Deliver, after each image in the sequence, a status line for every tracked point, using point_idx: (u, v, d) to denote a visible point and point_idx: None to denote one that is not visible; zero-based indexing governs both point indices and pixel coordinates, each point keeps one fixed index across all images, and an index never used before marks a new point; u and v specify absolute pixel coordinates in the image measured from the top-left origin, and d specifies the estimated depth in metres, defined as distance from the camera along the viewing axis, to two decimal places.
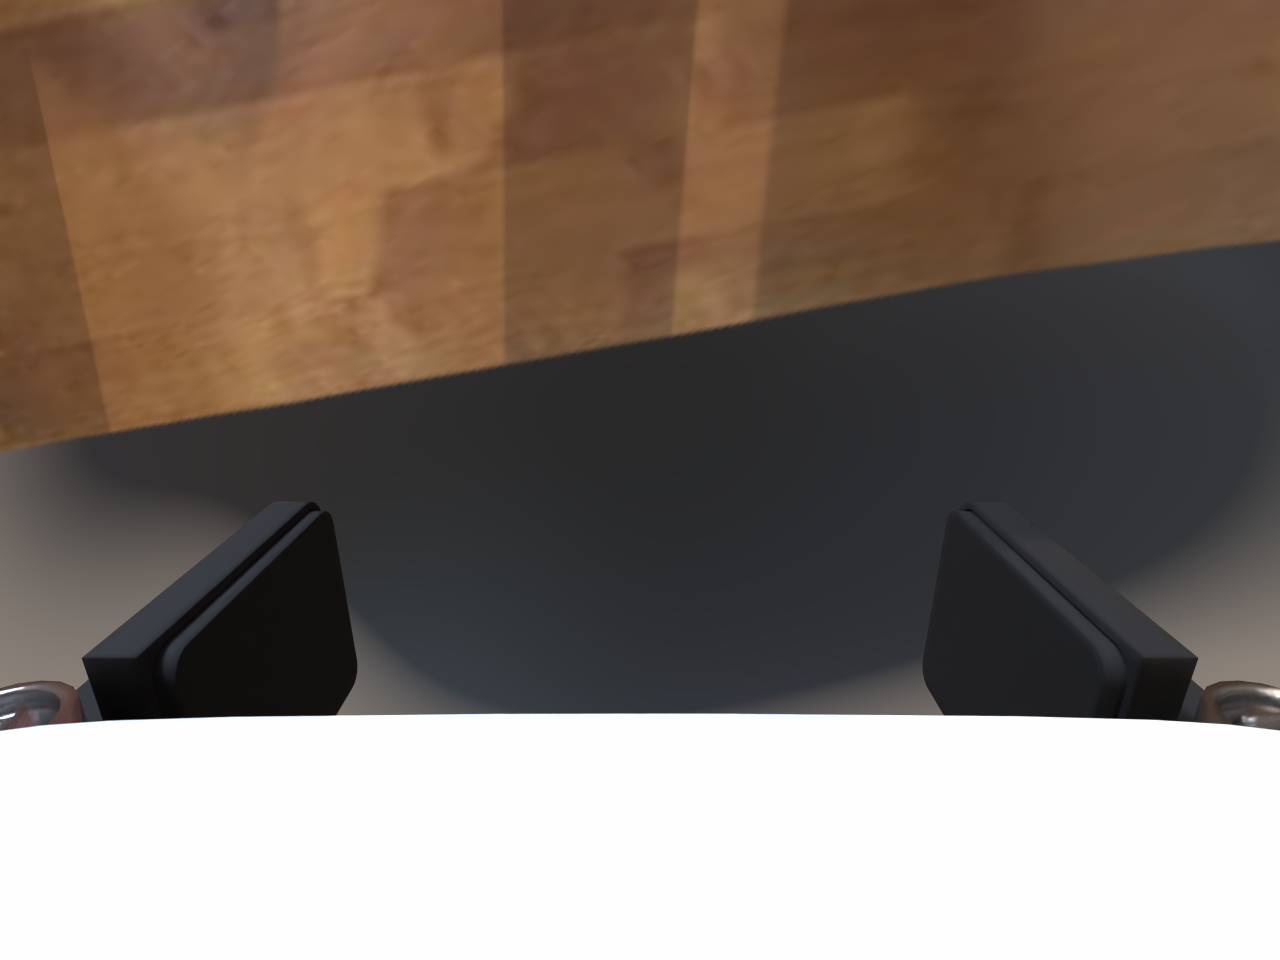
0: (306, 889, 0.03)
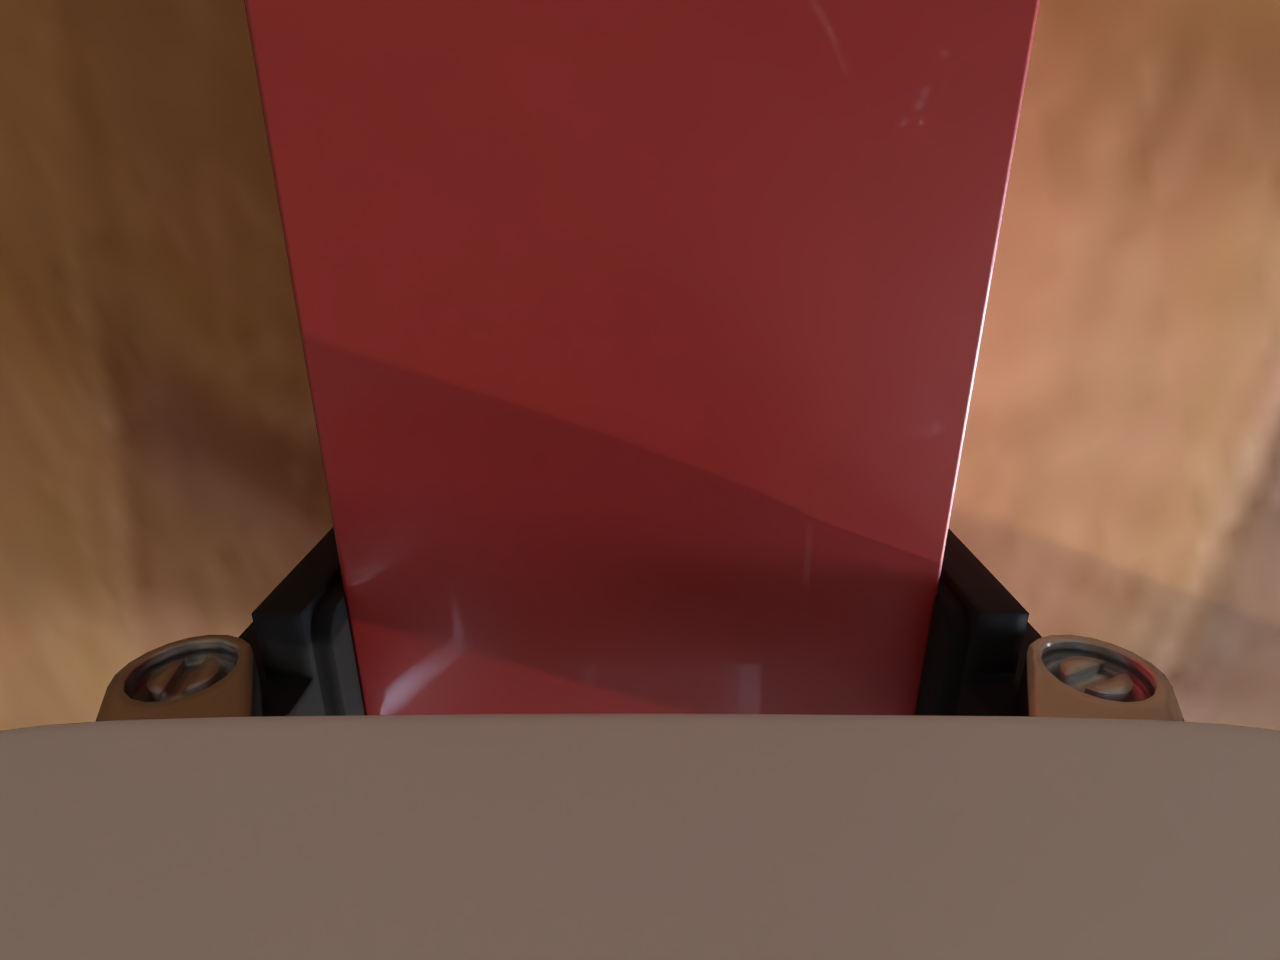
0: (305, 888, 0.03)
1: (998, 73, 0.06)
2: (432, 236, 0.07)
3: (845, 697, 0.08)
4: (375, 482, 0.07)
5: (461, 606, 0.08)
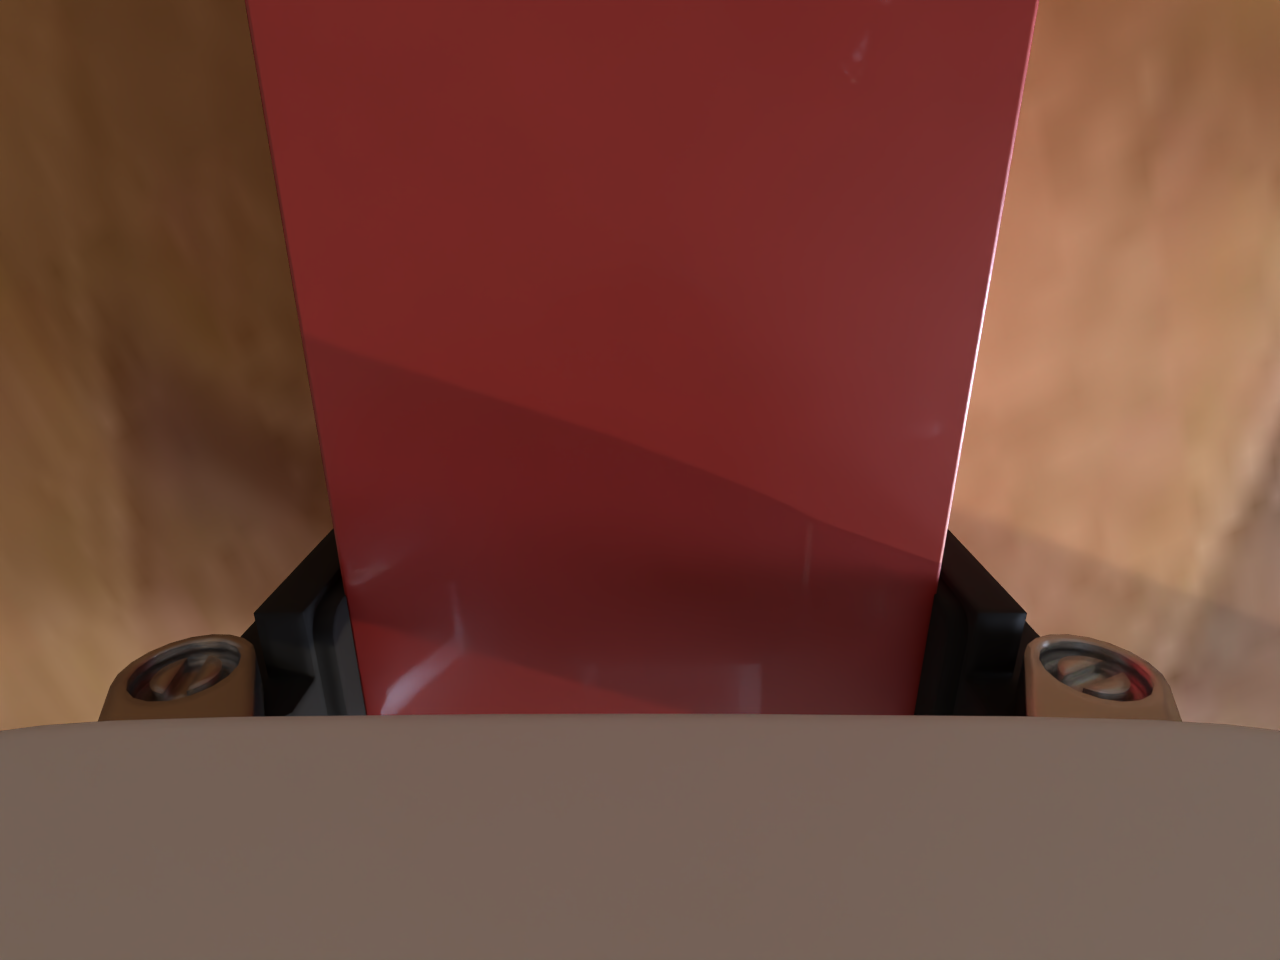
0: (306, 889, 0.03)
1: (997, 72, 0.06)
2: (432, 235, 0.07)
3: (844, 697, 0.08)
4: (375, 481, 0.07)
5: (461, 605, 0.08)
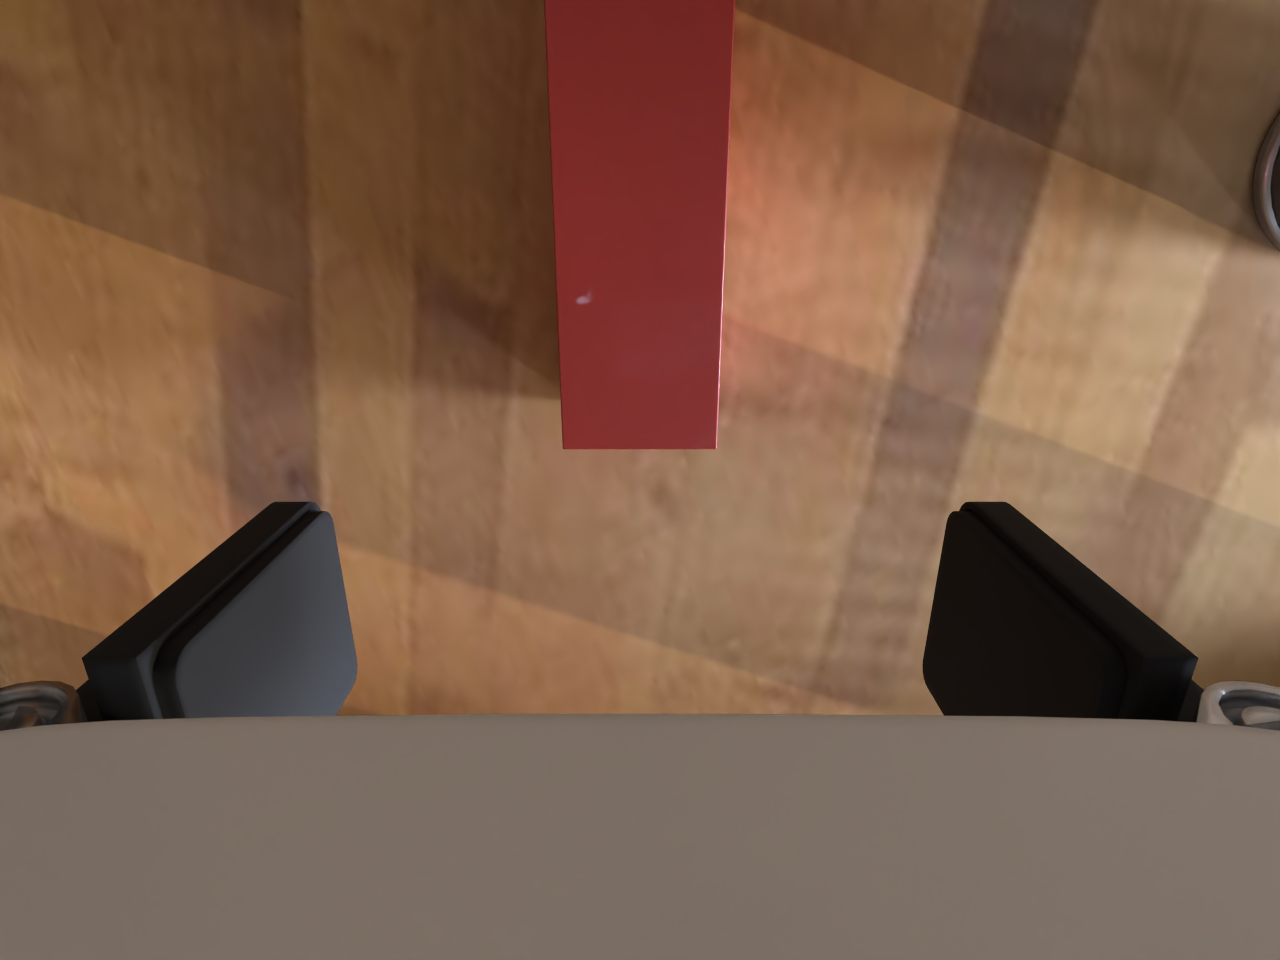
0: (306, 889, 0.03)
1: (720, 170, 0.26)
2: (589, 208, 0.27)
3: (699, 344, 0.29)
4: (569, 274, 0.28)
5: (589, 313, 0.28)
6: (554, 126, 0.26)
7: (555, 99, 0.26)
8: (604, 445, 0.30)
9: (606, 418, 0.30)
